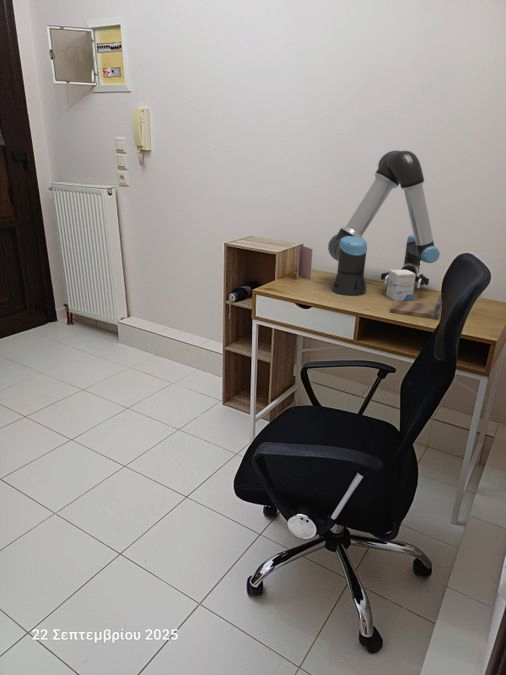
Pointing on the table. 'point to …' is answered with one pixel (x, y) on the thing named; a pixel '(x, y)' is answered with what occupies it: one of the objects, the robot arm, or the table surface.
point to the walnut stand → (417, 309)
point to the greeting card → (304, 262)
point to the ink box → (400, 285)
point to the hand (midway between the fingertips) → (401, 283)
